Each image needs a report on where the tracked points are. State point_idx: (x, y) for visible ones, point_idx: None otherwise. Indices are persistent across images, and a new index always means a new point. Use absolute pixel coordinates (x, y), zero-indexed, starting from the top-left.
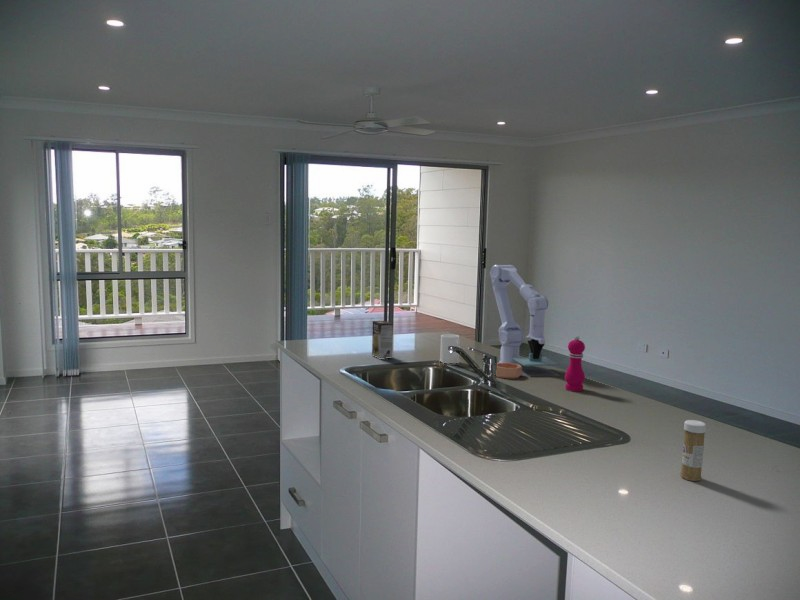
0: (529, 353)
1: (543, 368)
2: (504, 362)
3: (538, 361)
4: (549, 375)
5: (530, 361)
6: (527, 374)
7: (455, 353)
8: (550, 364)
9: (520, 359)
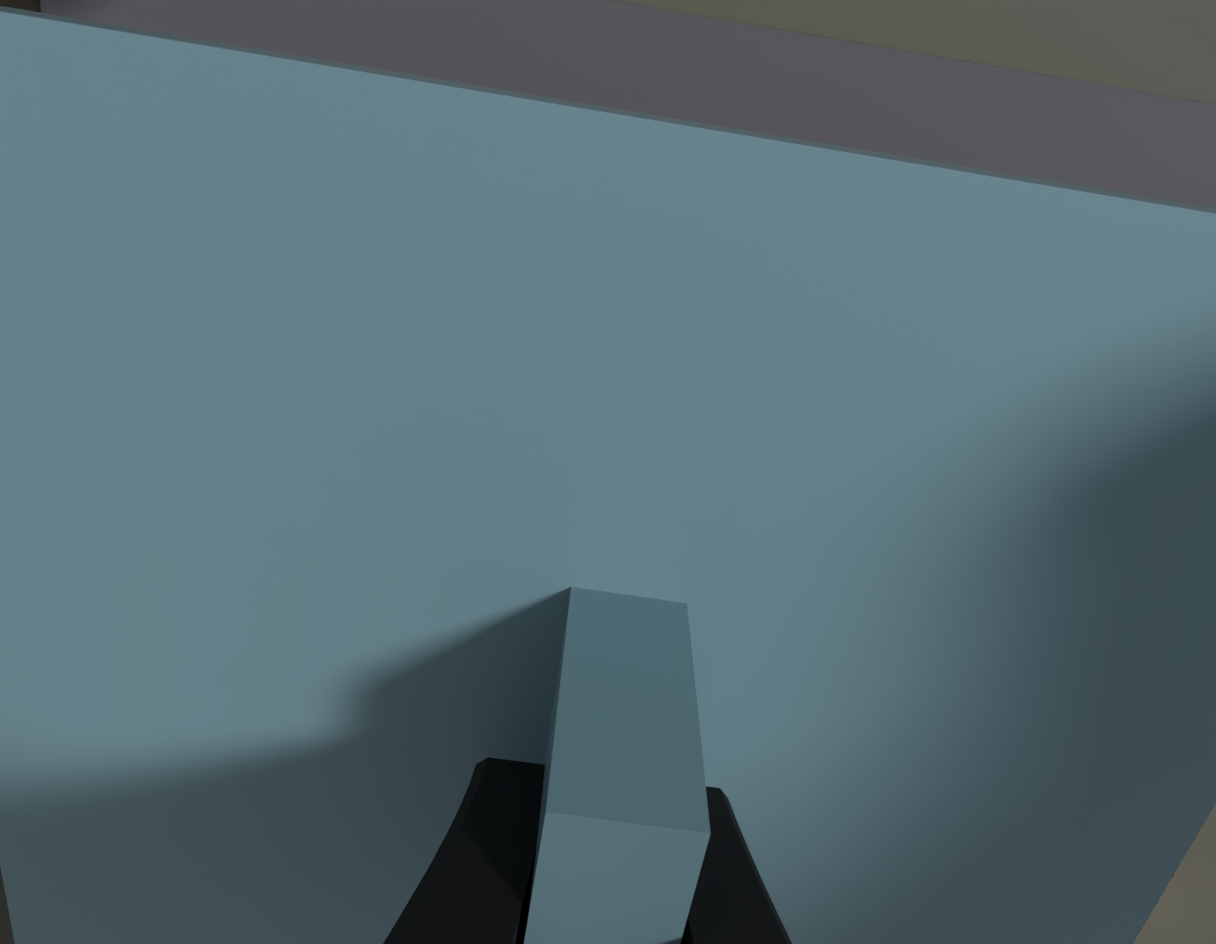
0: (650, 819)
1: None
2: None
3: (429, 805)
4: None
5: (457, 560)
6: None
7: None
8: (15, 921)
9: (934, 350)
